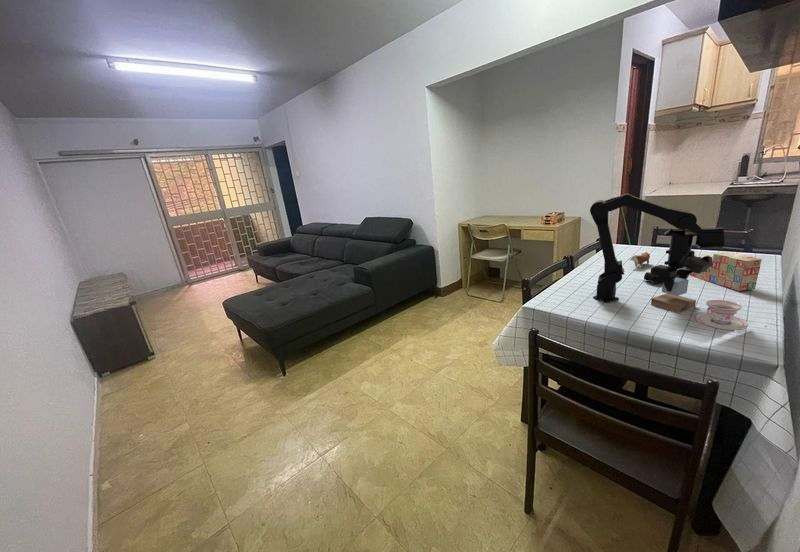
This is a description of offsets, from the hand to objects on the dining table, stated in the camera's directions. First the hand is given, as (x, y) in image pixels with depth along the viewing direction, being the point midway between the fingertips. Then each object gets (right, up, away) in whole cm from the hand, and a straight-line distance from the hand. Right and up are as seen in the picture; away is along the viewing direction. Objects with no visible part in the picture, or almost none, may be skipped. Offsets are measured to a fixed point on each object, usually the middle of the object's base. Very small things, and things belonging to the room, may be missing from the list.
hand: (674, 289), depth 114 cm
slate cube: (0, -1, 0) cm, 1 cm away
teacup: (+4, -10, -12) cm, 17 cm away
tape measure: (+10, +1, +21) cm, 23 cm away
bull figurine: (+21, +9, +44) cm, 49 cm away
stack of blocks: (+34, +2, +17) cm, 38 cm away
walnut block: (+1, -6, +2) cm, 7 cm away
